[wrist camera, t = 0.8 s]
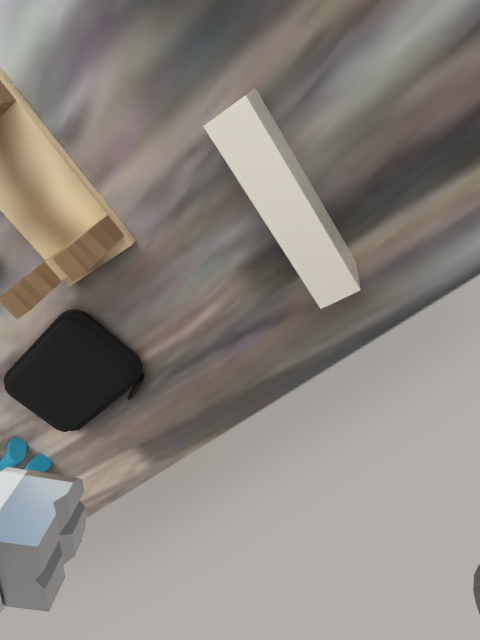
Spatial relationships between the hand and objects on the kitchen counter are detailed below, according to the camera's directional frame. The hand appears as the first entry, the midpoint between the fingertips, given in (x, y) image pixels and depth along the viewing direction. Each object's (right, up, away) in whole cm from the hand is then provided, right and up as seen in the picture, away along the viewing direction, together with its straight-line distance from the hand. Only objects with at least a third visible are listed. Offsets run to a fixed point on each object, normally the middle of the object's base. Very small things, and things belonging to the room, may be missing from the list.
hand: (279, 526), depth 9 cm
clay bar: (+3, +14, +26) cm, 29 cm away
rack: (-17, +15, +28) cm, 36 cm away
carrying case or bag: (-17, -1, +39) cm, 43 cm away
